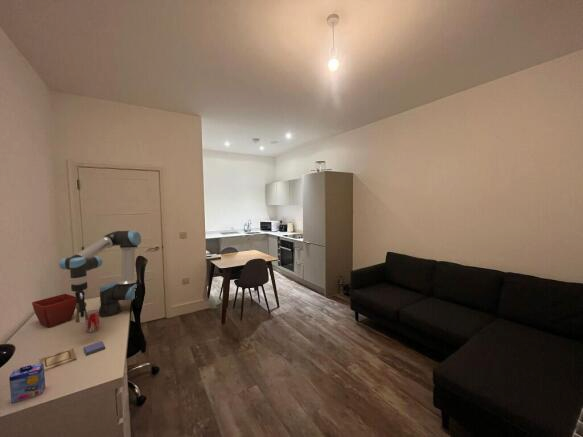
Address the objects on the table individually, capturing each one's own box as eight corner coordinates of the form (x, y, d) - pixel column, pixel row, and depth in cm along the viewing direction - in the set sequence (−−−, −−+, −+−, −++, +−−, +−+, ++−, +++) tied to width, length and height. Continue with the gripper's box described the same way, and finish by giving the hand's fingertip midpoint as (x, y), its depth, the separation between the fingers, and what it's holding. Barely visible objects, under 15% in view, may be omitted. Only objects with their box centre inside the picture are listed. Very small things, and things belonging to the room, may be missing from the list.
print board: (73, 349, 145) (73, 347, 145) (76, 359, 135) (76, 357, 135) (39, 360, 134) (39, 358, 134) (40, 372, 125) (40, 370, 125)
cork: (80, 318, 154) (79, 301, 153) (90, 317, 154) (89, 300, 153) (72, 322, 148) (71, 305, 147) (83, 322, 148) (82, 304, 147)
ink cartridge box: (10, 404, 105) (7, 372, 104) (15, 395, 110) (12, 365, 109) (42, 394, 111) (40, 363, 110) (45, 386, 115) (43, 357, 114)
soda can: (99, 326, 171) (98, 308, 170) (100, 330, 166) (99, 311, 165) (86, 330, 166) (84, 311, 166) (87, 334, 161) (85, 315, 160)
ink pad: (102, 343, 151) (102, 340, 151) (105, 348, 145) (105, 346, 145) (83, 349, 144) (83, 346, 144) (85, 356, 138) (85, 353, 138)
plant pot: (66, 314, 191) (65, 293, 190) (79, 319, 183) (78, 297, 182) (32, 325, 174) (31, 302, 173) (45, 331, 166) (43, 307, 165)
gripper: (69, 281, 153) (71, 317, 154) (72, 288, 140) (75, 327, 142) (84, 278, 158) (87, 313, 160) (89, 285, 145) (92, 322, 147)
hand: (81, 319), depth 151 cm, fingers closed on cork, 6 cm apart
